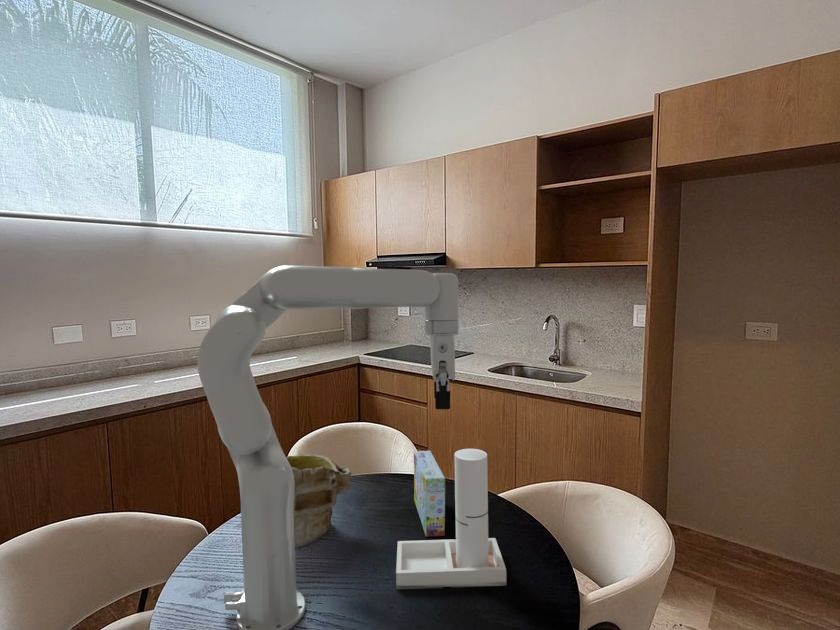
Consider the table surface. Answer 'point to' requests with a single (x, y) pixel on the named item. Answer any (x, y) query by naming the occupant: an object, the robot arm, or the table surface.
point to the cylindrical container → (471, 508)
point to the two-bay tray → (444, 566)
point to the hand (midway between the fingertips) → (441, 403)
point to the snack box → (429, 493)
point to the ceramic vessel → (315, 494)
